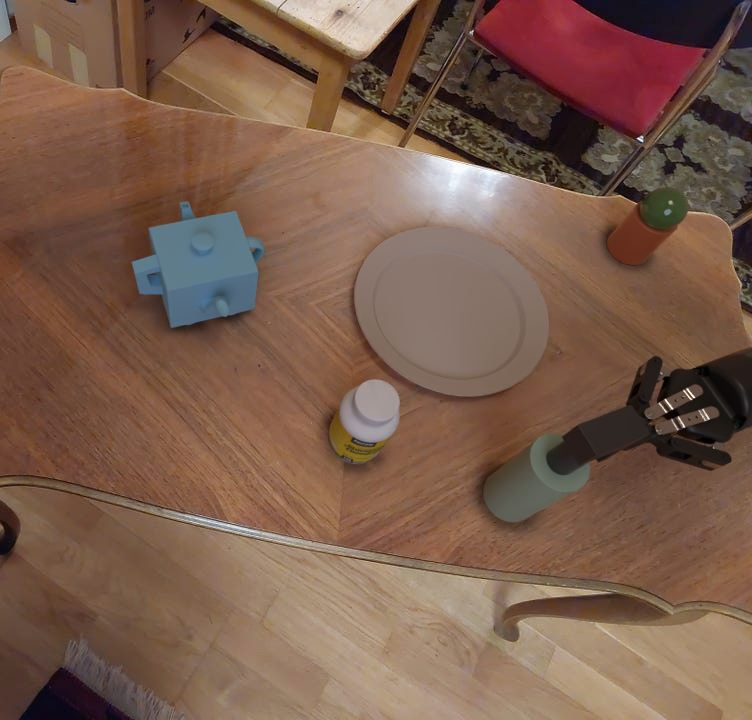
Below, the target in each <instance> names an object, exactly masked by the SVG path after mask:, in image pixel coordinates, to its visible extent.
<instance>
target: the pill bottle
mask: <svg viewBox="0 0 752 720" xmlns="http://www.w3.org/2000/svg"><path fill="white" fill-rule="evenodd" d="M400 405H401V400H400V395H399V393H398V391H397V390H396V388H395V387H394V386H392V385H391V383H389V382H387V381H385V380H382V379H378V378H377V379H376V378H374V379H368V380H365V381H364V382H362V383H361V384H359V385H358V386H356V387H353V388H351V389H350V390H349V391H347V392H346V393H345V395H344V396H343V398H341V401H340V403H339V406H338V407H337V410H336V412H335V414H334V416H333V418H332V421H331V423H330V425H329V427H328V432H327V440H328V444H329V447H330V449H331V450H332V452H333V454H335V455H336V457H338V458H339V459H340V460H341V461H343V462H346V463H348V464H352V465H362V464H367V463H369V462H371V461H372V460H374V459H375V458H376V457H378V455H379V454H380V453H381V451H382V450H383V449H384V447H385V446H386V444H387V443H388V442H389V441H390V439H391V437H392V436H393V435H394V433H395V432H396V431H397V428H398V427H399V424H400V419H401V418H400V416H401V415H400V414H401V413H400Z"/></svg>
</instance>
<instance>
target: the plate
mask: <svg viewBox="0 0 752 720" xmlns="http://www.w3.org/2000/svg"><path fill="white" fill-rule="evenodd" d="M353 306H354V310H355V311H354V312H355V315H356V318H357V322H358V324H359V327H360V329H361V333H362V334H363V336H364V338H365V339H366V341H367V343H368V345H369V346H370V347H371V348H372V350H373V351H374V352H375V353H376V355H377V356H378V357H379V358H380V359H381V360H382V361H383V363H385V364H386V365H387V366H388V367H389V368H391V369H392V370H393V371H395V372H396V373H397V374H398V375H399V376H402V377H403V378H405V379H407V380H408V381H409V382H412V383H414V384H416V385H417V386H420V387H422V388H423V389H424V388H425V389H428V390H430V391H433V392H436V393H440V394H444V395H449V396H456V397H481V396H482V397H483V396H488V395H489V396H490V395H494V394H496V393H500V392H502V391H503V392H504V391H505V390H508V389H511V388H512V387H514V386H515V385H517V384H519V383H521V382H522V381H523V380H524V379H526V378H527V377H528V376H529V375H530V374H531V373H532V372H533V371H534V370H535V369H536V367H537V365H539V363H540V361H541V360H542V358H543V355H544V354H545V351H546V348H547V345H548V341H549V333H550V318H549V313H548V307H547V304H546V301H545V298H544V295H543V293H542V291H541V288H540V287H539V285H538V283H537V282H536V280H535V279H534V277H533V275H531V273H530V272H529V271H528V269H527V268H526V267H525V266H524V265H523V264H522V263H521V262H520V261H519V260H518V259H517V258H516V257H514V256H513V254H511V252H509V251H507V250H506V249H504V248H503V247H502V246H501V245H499V244H497V243H495V242H494V241H491V240H489V239H487V238H485V237H484V236H481V235H479V234H476V233H473V232H470V231H467V230H463V229H458V228H453V227H447V226H423V227H422V226H421V227H416V228H411V229H407V230H404V231H400V232H399V233H396V234H394V235H392V236H390V237H388V238H387V239H385V240H383V241H381V243H379V244H377V246H375V247H374V248H373V249H372V250H371V251H370V253H369V254H368V255H367V256H366V257H365V259H364V261H363V262H362V263H361V266H360V268H359V270H358V272H357V275H356V278H355V281H354V290H353Z"/></svg>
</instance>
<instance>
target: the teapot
mask: <svg viewBox="0 0 752 720" xmlns="http://www.w3.org/2000/svg"><path fill="white" fill-rule="evenodd" d="M179 214H180V215H179V216H180V220H179V221H175V222H170V223H166V224H161V225H155V226H151V227H148V234H149V243H150V250H151V255H148V256H145V257H142V258H140V259H137V260H133V261H131V266H132V269H133V275H134V279H135V282H136V286H137V289H138V294H139V295H161V299H162V302H163V304H164V309H165V313H166V316H167V319H168V323H169V326H170V329H173V328H178V327H182V326H185V325H186V326H190V325H193V324H195V323H200V322H203V321H208V320H212V319H217V318H222V317H223V318H227V317H228V316H234V315H236V314H238V313H243V312H247V311H251V310H255V308H256V299H257V289H258V282H259V272H260V271H259V268H258V266H257V264H258V262H259V261H260V260H261V259H262V258H263V256H264V255H265V252H266V249H265V248H266V247H265V245H264V242H263V241H262V240H261V239H260V238H258V237H256V236H247V235H246V234H245V231H244V228H243V226H242V222H241V219H240V217H239V215H238V212H237V210H233V211H227V212H222V213H217V214H212V215H206V216H200V217H196V216H195V214H194V212H193V210H192V206H191V205H190V202H189V201H187V200H186V201H182V202H179ZM251 249H253V251H252V250H251Z"/></svg>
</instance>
